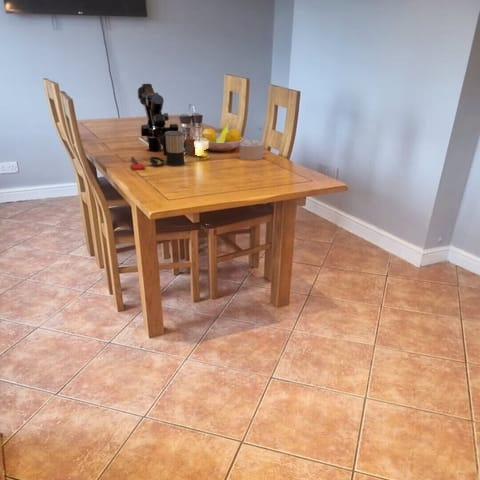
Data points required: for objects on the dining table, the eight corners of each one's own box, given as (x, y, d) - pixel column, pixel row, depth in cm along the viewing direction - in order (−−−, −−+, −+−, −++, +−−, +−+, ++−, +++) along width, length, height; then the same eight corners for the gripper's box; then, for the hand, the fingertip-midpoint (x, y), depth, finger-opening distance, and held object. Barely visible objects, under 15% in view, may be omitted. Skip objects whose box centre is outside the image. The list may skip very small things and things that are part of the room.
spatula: (127, 159, 232) (127, 157, 231) (138, 159, 234) (138, 156, 233) (133, 170, 216) (133, 167, 215) (144, 169, 217) (144, 166, 216)
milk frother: (188, 163, 229) (187, 132, 221) (169, 170, 218) (167, 137, 210) (166, 159, 235) (164, 128, 227) (146, 165, 223) (143, 133, 215)
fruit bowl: (227, 156, 244) (227, 134, 238) (187, 149, 256) (186, 127, 250) (253, 147, 264) (254, 126, 258) (215, 141, 276) (215, 121, 270)
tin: (183, 153, 247) (182, 137, 243) (187, 152, 249) (187, 136, 245) (202, 158, 239) (201, 141, 234) (206, 157, 241) (206, 140, 236)
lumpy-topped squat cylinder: (265, 158, 243) (266, 141, 238) (246, 161, 236) (246, 143, 231) (253, 154, 250) (254, 137, 245) (234, 157, 243) (235, 140, 238)
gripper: (139, 107, 221) (145, 135, 219) (176, 106, 227) (182, 134, 224) (138, 122, 232) (143, 149, 229) (174, 121, 237) (180, 147, 234)
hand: (162, 144), depth 229 cm, fingers closed
